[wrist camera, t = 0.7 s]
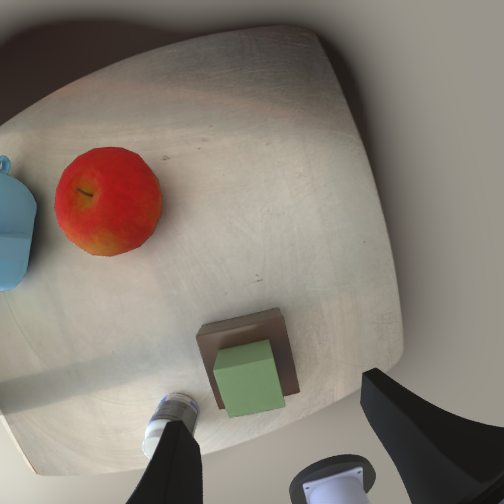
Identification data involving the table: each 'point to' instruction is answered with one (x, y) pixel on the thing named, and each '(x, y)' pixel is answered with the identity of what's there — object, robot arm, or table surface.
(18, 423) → the table surface
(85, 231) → the apple
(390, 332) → the table surface
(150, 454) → the pill bottle
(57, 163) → the table surface
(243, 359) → the green block
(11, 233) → the teapot
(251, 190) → the table surface
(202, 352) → the walnut base
